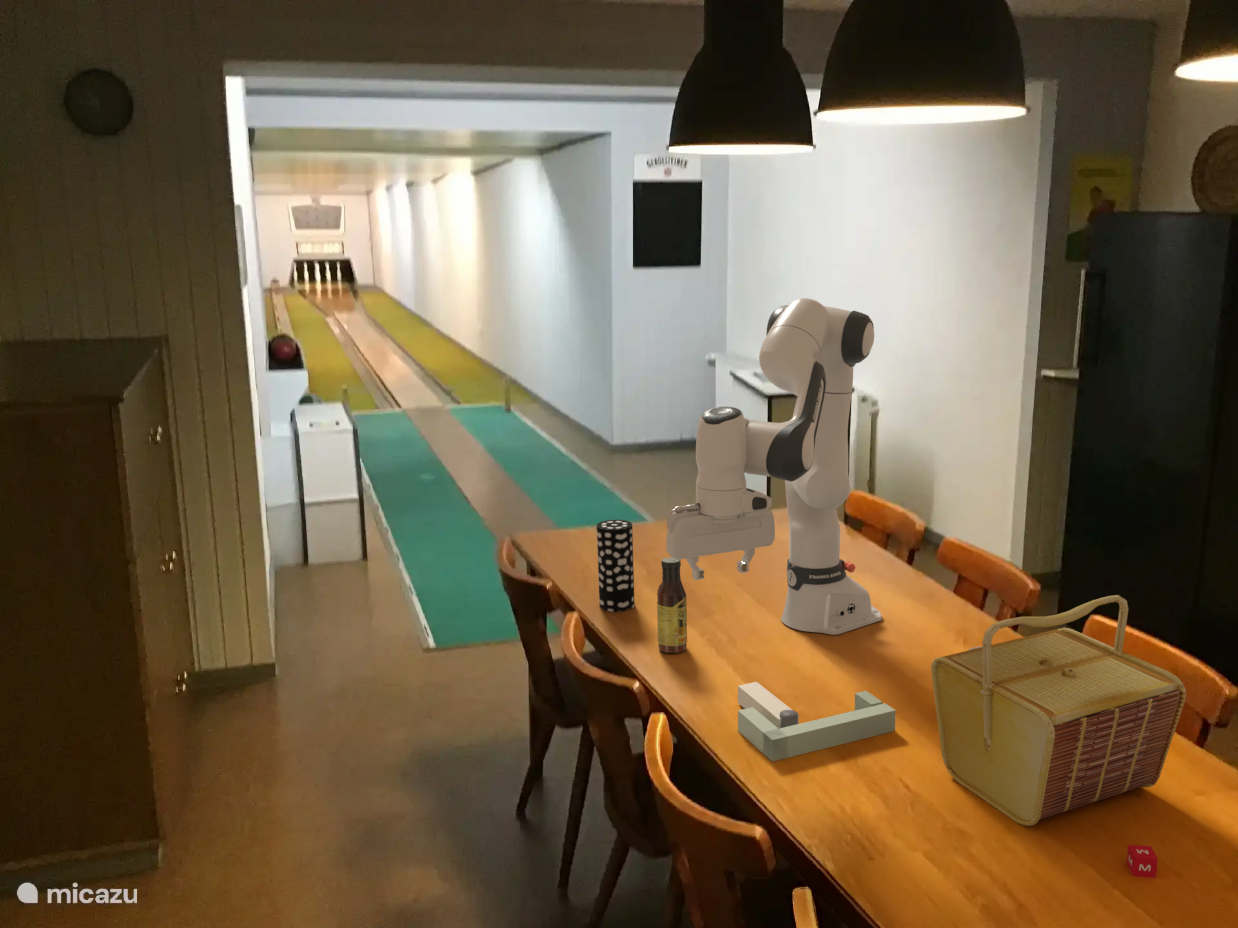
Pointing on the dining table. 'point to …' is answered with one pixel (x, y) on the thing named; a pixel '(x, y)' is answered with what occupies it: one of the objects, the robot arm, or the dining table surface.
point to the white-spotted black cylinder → (615, 565)
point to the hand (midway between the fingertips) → (720, 575)
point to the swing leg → (766, 705)
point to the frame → (817, 729)
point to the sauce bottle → (671, 609)
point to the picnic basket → (1054, 717)
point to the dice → (1142, 861)
